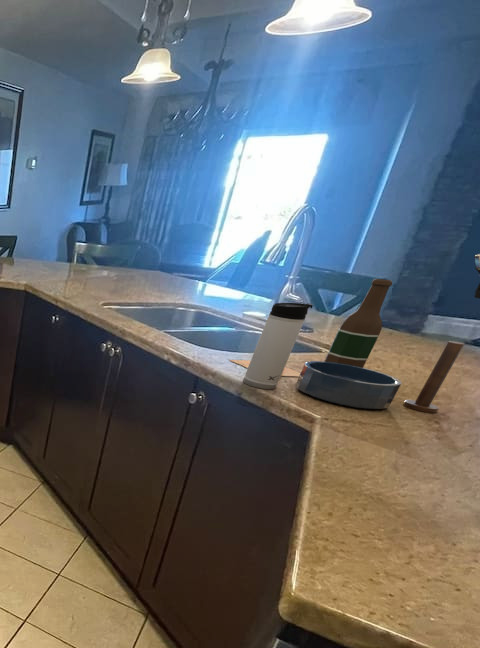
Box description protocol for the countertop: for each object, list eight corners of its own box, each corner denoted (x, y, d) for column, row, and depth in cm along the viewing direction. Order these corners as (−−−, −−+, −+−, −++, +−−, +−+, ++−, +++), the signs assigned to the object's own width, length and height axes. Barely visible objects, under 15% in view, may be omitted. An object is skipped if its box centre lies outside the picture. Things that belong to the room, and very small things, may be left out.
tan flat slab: (263, 375, 123) (270, 359, 122) (228, 360, 135) (233, 345, 133) (310, 377, 124) (317, 361, 122) (271, 361, 135) (276, 346, 133)
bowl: (401, 405, 108) (415, 380, 105) (366, 415, 102) (379, 389, 100) (316, 381, 121) (326, 358, 118) (280, 388, 115) (290, 364, 113)
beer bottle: (366, 378, 124) (414, 283, 115) (328, 373, 127) (372, 280, 117) (350, 369, 131) (394, 278, 121) (314, 365, 133) (354, 275, 124)
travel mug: (276, 392, 113) (313, 306, 105) (241, 384, 117) (274, 301, 109) (278, 385, 117) (313, 302, 109) (243, 378, 121) (275, 297, 113)
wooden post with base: (440, 411, 106) (479, 345, 100) (430, 414, 104) (469, 347, 98) (409, 402, 110) (444, 338, 104) (398, 405, 108) (434, 340, 102)
